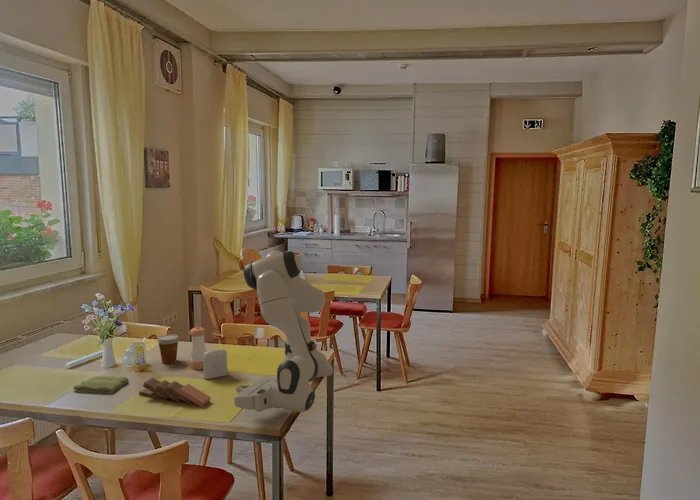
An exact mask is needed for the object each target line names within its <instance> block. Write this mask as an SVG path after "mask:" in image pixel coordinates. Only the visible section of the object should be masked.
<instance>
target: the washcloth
mask: <svg viewBox="0 0 700 500" xmlns="http://www.w3.org/2000/svg"><path fill="white" fill-rule="evenodd" d="M129 381H130V380H129V378H128V377H127V376H93V377H90V378H88V379H85V380H83V381H81V382H80V383H79V384H76V385H74V386H73V387H72V388H73V390H75V393H81V392H84V394H113V393H115V392H116V391H117V390H119V389H120V388H122V387H123V386H125V385H127V384H128V383H129Z"/></svg>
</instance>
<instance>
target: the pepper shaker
mask: <svg viewBox="0 0 700 500" xmlns="http://www.w3.org/2000/svg"><path fill="white" fill-rule="evenodd" d="M206 333H207V331H206V329H205V328H204V327H200V326H198V325H197V326H195V327H193V328H191V329H190V330H189V335H190V336H191V351H190V358H191V359H190V368H191V370H195V371H196V370H204V363H203V355H204V353H205V352H207V349H206V346H205V335H206Z"/></svg>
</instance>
